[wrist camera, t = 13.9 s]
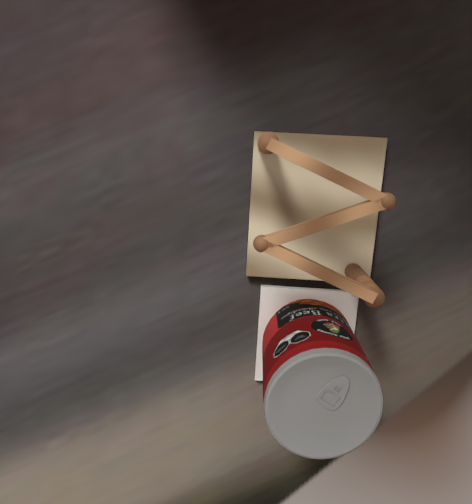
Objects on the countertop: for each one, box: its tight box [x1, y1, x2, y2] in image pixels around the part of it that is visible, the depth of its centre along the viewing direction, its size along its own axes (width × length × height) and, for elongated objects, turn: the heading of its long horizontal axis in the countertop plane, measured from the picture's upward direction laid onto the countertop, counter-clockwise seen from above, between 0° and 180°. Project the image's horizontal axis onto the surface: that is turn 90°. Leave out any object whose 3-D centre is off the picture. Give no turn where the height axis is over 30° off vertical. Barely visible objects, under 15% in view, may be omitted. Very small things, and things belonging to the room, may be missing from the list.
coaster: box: [255, 285, 359, 381], centre depth 39 cm, size 9×8×1 cm
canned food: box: [262, 299, 383, 459], centre depth 34 cm, size 8×8×11 cm
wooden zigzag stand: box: [246, 131, 396, 308], centre depth 33 cm, size 12×10×8 cm
